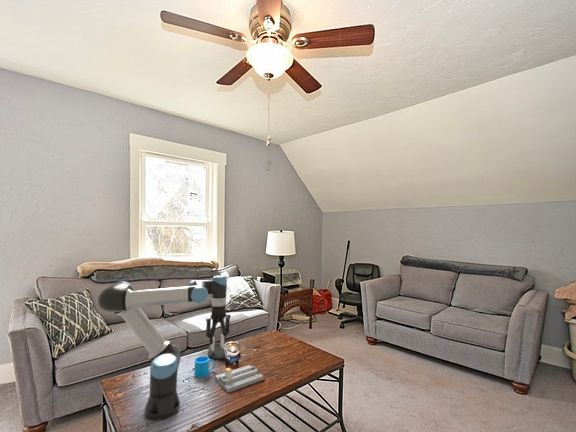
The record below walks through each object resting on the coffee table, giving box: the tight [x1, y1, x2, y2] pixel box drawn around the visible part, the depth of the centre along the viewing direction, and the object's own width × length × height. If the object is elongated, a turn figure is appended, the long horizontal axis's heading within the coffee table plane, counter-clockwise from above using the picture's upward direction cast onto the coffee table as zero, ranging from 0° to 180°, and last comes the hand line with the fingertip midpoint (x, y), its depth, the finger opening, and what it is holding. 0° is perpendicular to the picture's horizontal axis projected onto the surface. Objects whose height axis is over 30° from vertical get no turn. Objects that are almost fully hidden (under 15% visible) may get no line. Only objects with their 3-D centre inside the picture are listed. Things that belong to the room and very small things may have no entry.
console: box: [214, 364, 264, 393], centre depth 163 cm, size 22×16×4 cm
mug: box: [193, 355, 216, 378], centre depth 170 cm, size 12×8×8 cm
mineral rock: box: [207, 341, 226, 360], centre depth 188 cm, size 13×11×10 cm
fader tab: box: [224, 367, 233, 379], centre depth 159 cm, size 2×3×5 cm
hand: (217, 348), depth 155 cm, fingers open, 5 cm apart
